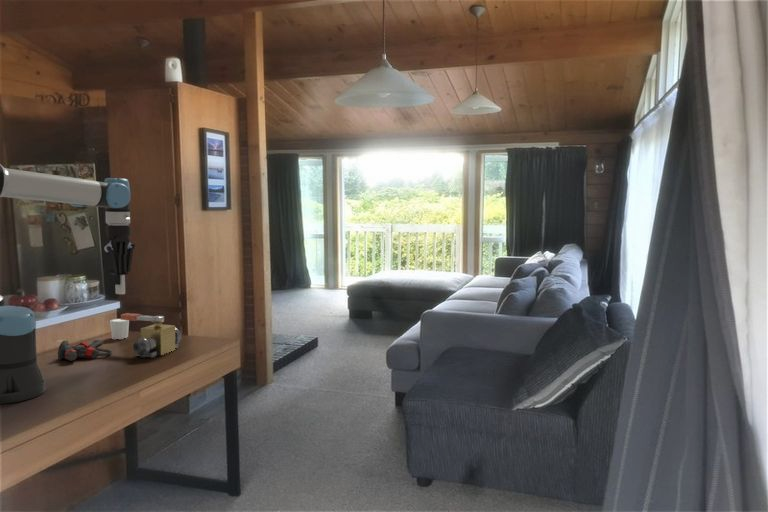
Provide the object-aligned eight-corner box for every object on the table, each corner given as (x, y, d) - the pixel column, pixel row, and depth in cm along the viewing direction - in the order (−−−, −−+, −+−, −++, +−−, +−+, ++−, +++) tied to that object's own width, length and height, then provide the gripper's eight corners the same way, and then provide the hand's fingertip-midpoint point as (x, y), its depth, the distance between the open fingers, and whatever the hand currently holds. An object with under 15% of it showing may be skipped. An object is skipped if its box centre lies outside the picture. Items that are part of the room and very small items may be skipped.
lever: (166, 320, 196) (166, 315, 195) (159, 323, 192) (159, 318, 191) (127, 317, 200) (127, 312, 199) (120, 319, 196) (119, 314, 196)
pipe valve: (151, 359, 185) (150, 328, 184) (131, 357, 187) (130, 326, 186) (183, 346, 203) (183, 318, 202) (164, 345, 205) (164, 316, 204)
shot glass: (133, 336, 218) (132, 318, 217) (123, 340, 211) (122, 322, 210) (116, 335, 218) (116, 317, 218) (106, 339, 211) (105, 321, 211)
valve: (98, 370, 180) (50, 364, 178) (125, 352, 206) (83, 347, 204) (101, 351, 180) (52, 344, 178) (128, 335, 206) (85, 330, 204)
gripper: (113, 225, 179) (116, 297, 182) (141, 224, 192) (142, 291, 194) (94, 224, 181) (96, 296, 184) (122, 223, 194) (124, 290, 196)
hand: (120, 293), depth 189 cm, fingers closed
